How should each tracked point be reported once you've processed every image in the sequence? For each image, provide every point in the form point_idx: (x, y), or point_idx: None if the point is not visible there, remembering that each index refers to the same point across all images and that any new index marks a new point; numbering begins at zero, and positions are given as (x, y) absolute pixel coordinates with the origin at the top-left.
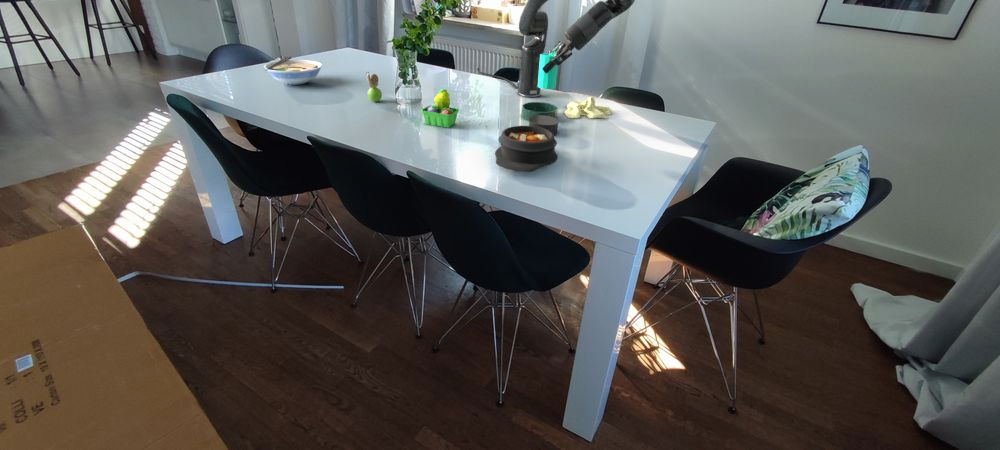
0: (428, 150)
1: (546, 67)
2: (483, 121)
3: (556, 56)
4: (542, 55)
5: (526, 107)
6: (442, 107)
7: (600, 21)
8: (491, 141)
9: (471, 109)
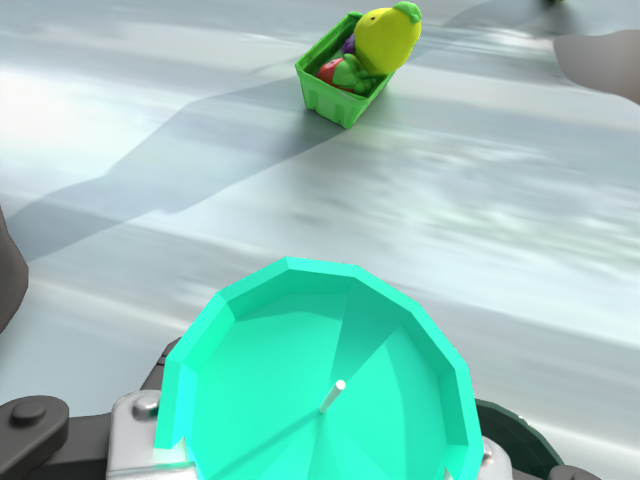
0: (113, 31)
1: (162, 353)
2: (376, 223)
3: (23, 456)
4: (269, 268)
5: (529, 446)
6: (356, 50)
7: None
8: (136, 198)
9: (528, 214)
